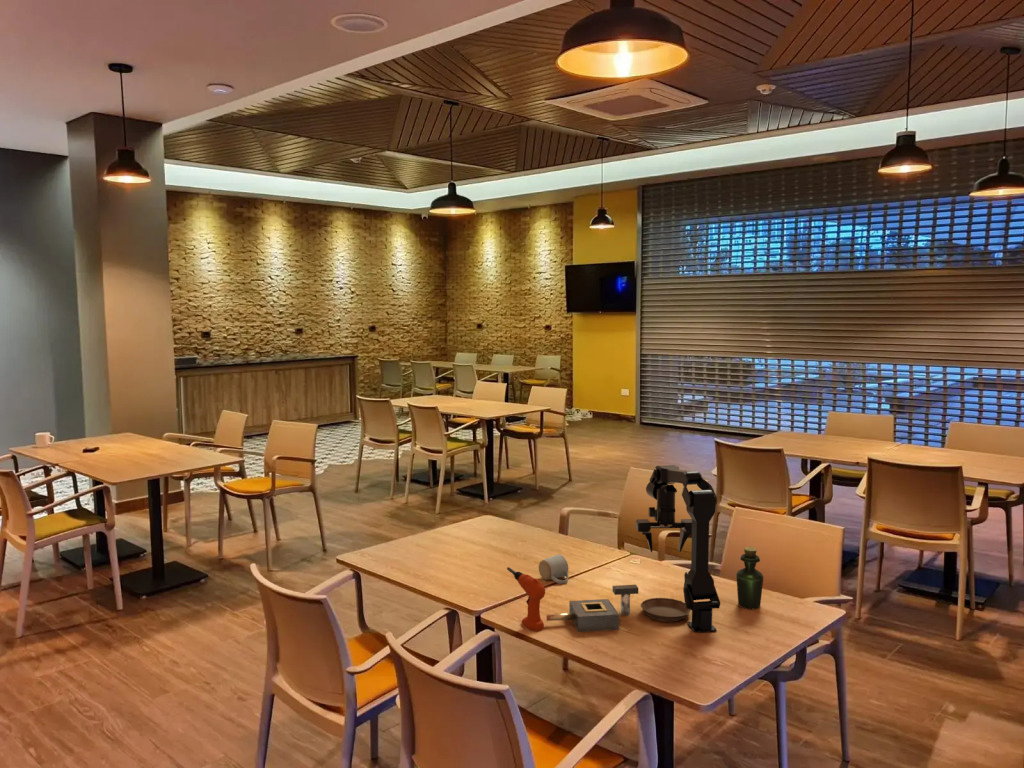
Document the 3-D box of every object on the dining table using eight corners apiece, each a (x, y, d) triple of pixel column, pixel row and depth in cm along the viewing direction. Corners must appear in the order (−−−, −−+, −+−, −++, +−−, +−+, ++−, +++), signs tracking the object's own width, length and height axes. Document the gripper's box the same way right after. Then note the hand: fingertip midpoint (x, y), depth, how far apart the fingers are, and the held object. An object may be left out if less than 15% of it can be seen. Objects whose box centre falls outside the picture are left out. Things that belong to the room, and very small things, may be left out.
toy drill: (511, 603, 228) (515, 557, 225) (547, 631, 212) (551, 583, 210) (498, 606, 225) (501, 560, 222) (533, 635, 210) (537, 586, 207)
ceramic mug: (536, 577, 255) (537, 555, 254) (555, 572, 260) (555, 551, 259) (555, 586, 246) (556, 564, 246) (574, 582, 251) (575, 560, 250)
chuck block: (619, 629, 211) (619, 613, 211) (550, 633, 209) (550, 617, 208) (608, 613, 223) (608, 598, 223) (543, 617, 220) (543, 601, 220)
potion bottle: (753, 612, 223) (754, 554, 222) (730, 604, 229) (731, 548, 228) (768, 606, 228) (769, 549, 227) (745, 598, 235) (746, 543, 233)
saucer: (691, 608, 227) (691, 599, 227) (689, 627, 213) (690, 618, 213) (643, 603, 231) (643, 595, 231) (638, 622, 217) (638, 613, 217)
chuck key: (638, 614, 222) (638, 587, 221) (614, 616, 221) (615, 589, 220) (635, 611, 225) (635, 584, 224) (612, 612, 224) (612, 585, 223)
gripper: (689, 498, 244) (688, 544, 245) (632, 498, 244) (632, 544, 245) (697, 506, 233) (696, 554, 234) (638, 506, 233) (638, 554, 234)
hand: (665, 551), depth 237 cm, fingers open, 9 cm apart
